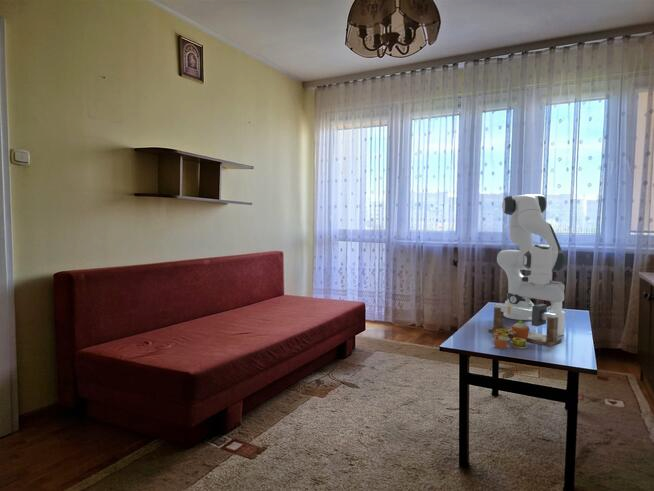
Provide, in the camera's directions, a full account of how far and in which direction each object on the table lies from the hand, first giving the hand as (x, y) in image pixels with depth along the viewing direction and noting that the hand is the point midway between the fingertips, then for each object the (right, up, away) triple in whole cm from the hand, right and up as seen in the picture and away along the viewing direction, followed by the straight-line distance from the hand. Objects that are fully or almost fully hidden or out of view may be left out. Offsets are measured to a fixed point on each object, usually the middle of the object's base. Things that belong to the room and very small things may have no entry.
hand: (539, 308), depth 196 cm
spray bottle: (+15, -15, +13) cm, 24 cm away
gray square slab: (0, -7, 0) cm, 7 cm away
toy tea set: (-16, -16, -4) cm, 22 cm away
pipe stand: (-5, -14, +6) cm, 16 cm away
